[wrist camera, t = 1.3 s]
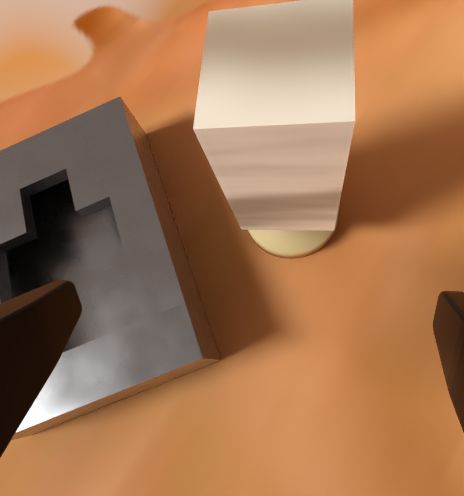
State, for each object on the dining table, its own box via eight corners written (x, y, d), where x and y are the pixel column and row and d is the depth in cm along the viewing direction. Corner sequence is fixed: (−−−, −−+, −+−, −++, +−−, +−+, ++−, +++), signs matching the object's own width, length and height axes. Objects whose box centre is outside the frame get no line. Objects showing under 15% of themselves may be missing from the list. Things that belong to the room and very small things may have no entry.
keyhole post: (338, 259, 23) (373, 135, 11) (243, 257, 24) (176, 143, 12) (338, 173, 24) (367, -19, 12) (249, 175, 26) (197, 2, 14)
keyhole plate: (221, 360, 22) (202, 358, 18) (30, 435, 23) (-27, 449, 19) (145, 133, 29) (119, 96, 25) (-1, 199, 29) (-49, 173, 25)
